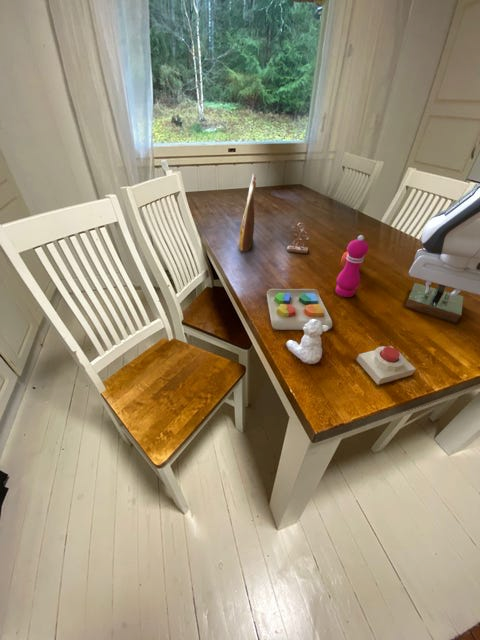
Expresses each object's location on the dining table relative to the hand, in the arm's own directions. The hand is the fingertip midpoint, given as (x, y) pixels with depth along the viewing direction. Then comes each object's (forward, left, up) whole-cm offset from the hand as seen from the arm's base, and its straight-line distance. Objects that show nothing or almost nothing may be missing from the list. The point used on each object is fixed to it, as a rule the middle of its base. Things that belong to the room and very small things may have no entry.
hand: (437, 296), depth 85 cm
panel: (0, 0, -4) cm, 4 cm away
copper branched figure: (+54, -12, -4) cm, 55 cm away
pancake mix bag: (+75, -4, -4) cm, 75 cm away
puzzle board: (+34, +28, -4) cm, 45 cm away
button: (+6, +37, 0) cm, 38 cm away
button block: (+7, +37, -4) cm, 38 cm away
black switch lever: (0, 0, 0) cm, 0 cm away
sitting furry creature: (+24, +44, -4) cm, 50 cm away
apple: (+30, -9, -4) cm, 31 cm away
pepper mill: (+26, +9, -4) cm, 27 cm away
